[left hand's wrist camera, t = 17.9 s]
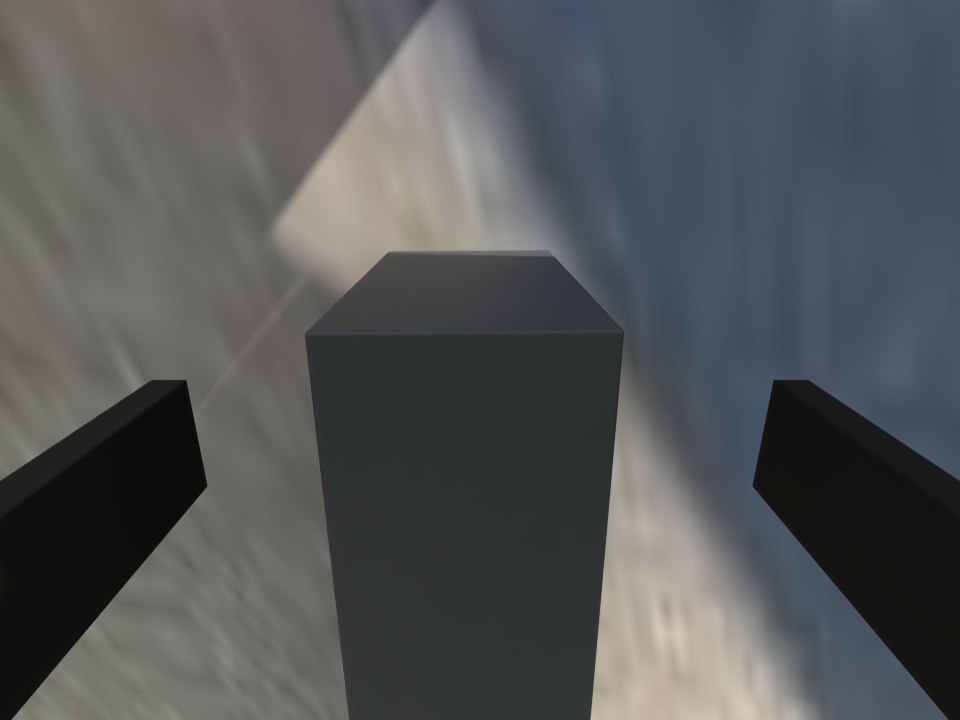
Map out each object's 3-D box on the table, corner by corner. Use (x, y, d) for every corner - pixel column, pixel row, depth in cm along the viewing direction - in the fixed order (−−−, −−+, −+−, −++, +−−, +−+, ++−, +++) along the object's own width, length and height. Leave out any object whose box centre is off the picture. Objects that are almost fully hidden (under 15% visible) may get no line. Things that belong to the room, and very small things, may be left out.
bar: (387, 251, 17) (303, 332, 8) (549, 250, 17) (625, 330, 9) (420, 793, 25) (393, 1110, 17) (528, 792, 25) (557, 1106, 17)
